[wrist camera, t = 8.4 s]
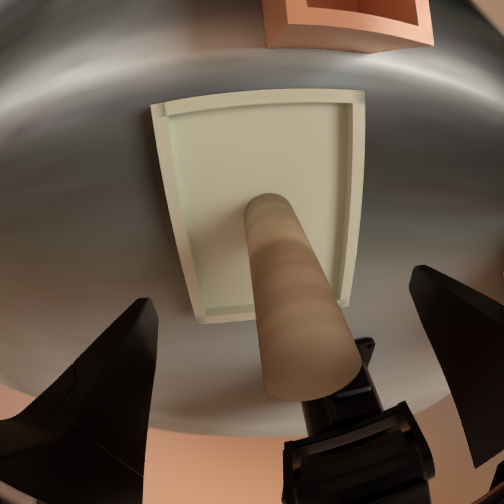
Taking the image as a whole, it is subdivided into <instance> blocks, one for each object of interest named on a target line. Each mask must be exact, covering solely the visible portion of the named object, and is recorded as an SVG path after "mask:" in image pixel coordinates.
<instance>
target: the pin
mask: <svg viewBox="0 0 504 504" xmlns="http://www.w3.org/2000/svg"><path fill="white" fill-rule="evenodd" d="M244 223H245V231H246V240H247V248H248V257H249V265H250V273H251V282H252V290H253V298H254V307H255V315H256V323H257V331H258V339H259V348H260V356H261V364H262V372H263V380H264V386H265V389H266V390H267V392H268V393H269V394H271V395H272V396H274V397H276V398H278V399H281V400H286V401H308V400H314V399H318V398H322V397H325V396H327V395H330V394H332V393H334V392H336V391H338V390H340V389H342V388H343V387H345V386H346V385H347V384H349V383H350V382H351V381H352V380H353V379H354V378H355V377H356V375H357V374H358V372H359V371H360V368H361V365H362V359H361V356H360V354H359V351H358V349H357V346H356V344H355V341H354V339H353V337H352V334H351V332H350V330H349V327H348V325H347V323H346V320H345V318H344V316H343V314H342V311H341V309H340V307H339V304H338V302H337V300H336V298H335V296H334V293H333V291H332V289H331V287H330V284H329V282H328V280H327V278H326V276H325V274H324V271H323V269H322V267H321V265H320V263H319V261H318V259H317V257H316V255H315V252H314V250H313V248H312V246H311V244H310V242H309V240H308V238H307V236H306V234H305V232H304V230H303V228H302V226H301V224H300V222H299V220H298V218H297V216H296V214H295V212H294V210H293V208H292V206H291V204H290V203H289V201H288V200H287V199H286V198H284V197H283V196H281V195H279V194H275V193H265V194H261V195H259V196H257V197H255V198H254V199H252V200H251V201H250V202H249V204H248V205H247V207H246V209H245V212H244Z"/></svg>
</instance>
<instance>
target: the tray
mask: <svg viewBox="0 0 504 504" xmlns="http://www.w3.org/2000/svg"><path fill="white" fill-rule="evenodd" d="M151 112H152V119H153V126H154V132H155V139H156V145H157V151H158V156H159V162H160V168H161V173H162V178H163V184H164V189H165V194H166V199H167V204H168V208H169V213H170V218H171V222H172V227H173V231H174V236H175V240H176V244H177V249H178V253H179V257H180V261H181V265H182V269H183V273H184V277H185V281H186V285H187V289H188V292H189V296H190V300H191V303H192V307H193V311H194V314H195V318H196V321H197V325H200V324H212V323H224V322H235V321H245V320H254V319H256V315H255V307H254V298H253V290H252V282H251V273H250V265H249V257H248V248H247V240H246V231H245V223H244V212H245V209H246V207H247V205H248V204H249V202H250V201H251V200H252V199H254V198H255V197H257V196H259V195H261V194H265V193H275V194H279V195H281V196H283V197H284V198H286V199H287V200H288V201H289V203H290V204H291V206H292V208H293V210H294V212H295V214H296V216H297V218H298V220H299V222H300V224H301V226H302V228H303V230H304V232H305V234H306V236H307V238H308V240H309V242H310V244H311V246H312V248H313V250H314V252H315V255H316V257H317V259H318V261H319V263H320V265H321V267H322V269H323V271H324V274H325V276H326V278H327V280H328V282H329V284H330V287H331V289H332V291H333V293H334V296H335V298H336V300H337V302H338V304H339V307H340V308H343V307H348V306H349V300H350V294H351V288H352V281H353V275H354V268H355V260H356V253H357V244H358V236H359V226H360V216H361V204H362V191H363V175H364V153H365V91H358V90H341V89H271V90H254V91H241V92H230V93H221V94H213V95H205V96H198V97H191V98H185V99H179V100H174V101H168V102H163V103H158V104H153V105H151Z"/></svg>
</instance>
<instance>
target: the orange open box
mask: <svg viewBox="0 0 504 504" xmlns="http://www.w3.org/2000/svg"><path fill="white" fill-rule="evenodd" d="M262 10H263V20H264V30H265V41H266V48H315V49H332V50H344V51H354V52H362V53H370V54H371V53H377V52H384V51H391V50H398V49H407V48H416V47H428V46H434V41H433V32H432V23H431V16H430V9H429V3H428V0H262Z"/></svg>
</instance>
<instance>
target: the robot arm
mask: <svg viewBox="0 0 504 504" xmlns="http://www.w3.org/2000/svg"><path fill="white" fill-rule="evenodd" d="M409 291H410V294H411V296H412V299H413V301H414V304H415V307H416V309H417V312H418V315H419V317H420V320H421V323H422V325H423V328H424V330H425V332H426V334H427V336H428V338H429V341H430V343H431V345H432V347H433V350H434V352H435V354H436V356H437V359H438V361H439V363H440V366H441V368H442V371H443V373H444V376H445V378H446V381H447V383H448V386H449V388H450V391H451V394H452V396H453V399H454V402H455V405H456V408H457V410H458V413H459V416H460V419H461V423H462V426H463V429H464V432H465V435H466V439H467V442H468V445H469V449H470V453H471V456H472V460H473V464H474V467H475V469H476V468H478V467H479V466H481V465H482V464H484V463H485V462H487V461H488V460H490V459H491V458H493V457H494V456H496V455H497V454H498V453H500V452H501V451H502V450H504V305H502V304H499V303H498V302H497V301H495V300H493V299H491V298H489V297H487V296H486V295H484V294H482V293H480V292H478V291H476V290H474V289H472V288H470V287H468V286H467V285H465V284H463V283H461V282H459V281H457V280H455V279H453V278H451V277H449V276H447V275H445V274H443V273H441V272H439V271H437V270H435V269H433V268H431V267H429V266H426V265H418V266H415V267H414V269H413V272H412V276H411V279H410V283H409ZM157 338H158V316H157V313H156V311H155V308H154V306H153V303H152V300H151V299H150V298H138V299H137V300H136V301H135V302H134V303H133V304H132V305H130V306H129V307H128V308H127V309H126V310H125V311H124V312H123V313H122V314H121V315H120V316H119V317H118V318H117V319H116V320H115V321H114V322H113V323H112V324H111V325H110V326H109V327H108V328H107V329H106V330H105V331H104V332H103V333H102V334H101V335H100V336H99V337H98V338H97V339H96V340H95V341H94V342H93V343H92V344H91V345H90V346H89V347H88V348H87V349H86V350H85V351H84V352H83V353H82V354H81V355H80V356H79V357H78V358H77V359H76V360H75V361H74V362H73V364H71V365H70V366H69V367H68V369H67V370H66V371H65V372H64V373H63V374H62V375H61V376H60V377H59V378H58V379H57V380H56V381H55V382H54V383H53V384H51V385H50V386H49V387H48V388H47V389H46V390H45V391H44V392H43V393H42V394H41V395H39V396H38V397H37V398H36V399H35V400H34V401H33V402H32V403H31V404H29V405H28V406H27V407H26V408H25V409H24V410H23V411H22V412H21V413H19V414H18V415H16V416H14V417H12V418H9V419H5V420H0V504H142V499H143V498H142V497H143V476H144V463H145V451H146V440H147V430H148V421H149V413H150V405H151V397H152V389H153V382H154V375H155V369H156V359H157ZM355 344H356V346H357V349H358V351H359V354H360V356H361V359H362V365H361V368H360V371H359V372H358V374H357V375H356V377H355V378H354V379H353V380H352V381H351V382H350V383H349V384H347V385H346V386H345V387H343V388H342V389H340V390H338V391H336V392H334V393H332V394H330V395H327V396H325V397H322V398H318V399H314V400H308V401H301V404H302V409H303V413H304V418H305V423H306V428H307V433H308V437H307V438H303V439H300V440H296V441H292V440H291V441H287V442H284V450H283V480H284V481H283V483H284V484H283V492H282V499H281V500H282V504H431V498H430V492H429V484H428V481H429V480H430V479H432V478H434V477H435V467H434V462H433V458H432V454H431V451H430V448H429V446H428V444H427V442H426V440H425V438H424V436H423V434H422V432H421V430H420V428H419V426H418V424H417V422H416V420H415V418H414V416H413V414H412V413H411V411H410V409H409V407H408V405H407V403H406V401H402V402H400V403H398V405H397V406H394V407H392V408H390V409H387V410H385V411H384V410H383V407H382V404H381V402H380V399H379V396H378V394H377V391H376V389H375V386H374V384H373V381H372V378H371V376H370V373H369V371H368V369H367V367H368V364H369V361H370V359H371V356H372V353H373V350H374V347H375V342H374V340H373V339H372V338H368V339H363V340H358V341H355ZM471 504H504V460H503V461H502V462H501V463H499V464H498V466H497V469H496V473H495V475H494V478H493V481H492V484H491V487H490V490H489V492H488V493H486V494H485V495H483V496H482V497H481V498H479V499H477V500H476V501H474V502H473V503H471Z"/></svg>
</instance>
